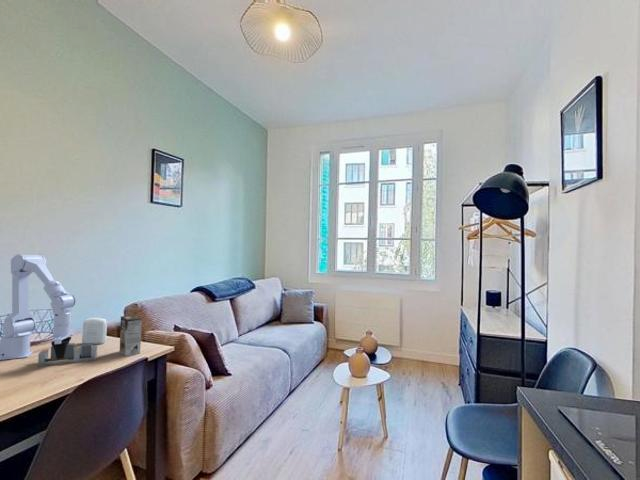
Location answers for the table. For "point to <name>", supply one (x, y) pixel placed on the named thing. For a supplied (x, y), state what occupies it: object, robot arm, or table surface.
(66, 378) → the table surface
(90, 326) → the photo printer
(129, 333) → the coffee box
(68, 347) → the panel
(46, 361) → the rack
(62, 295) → the robot arm
